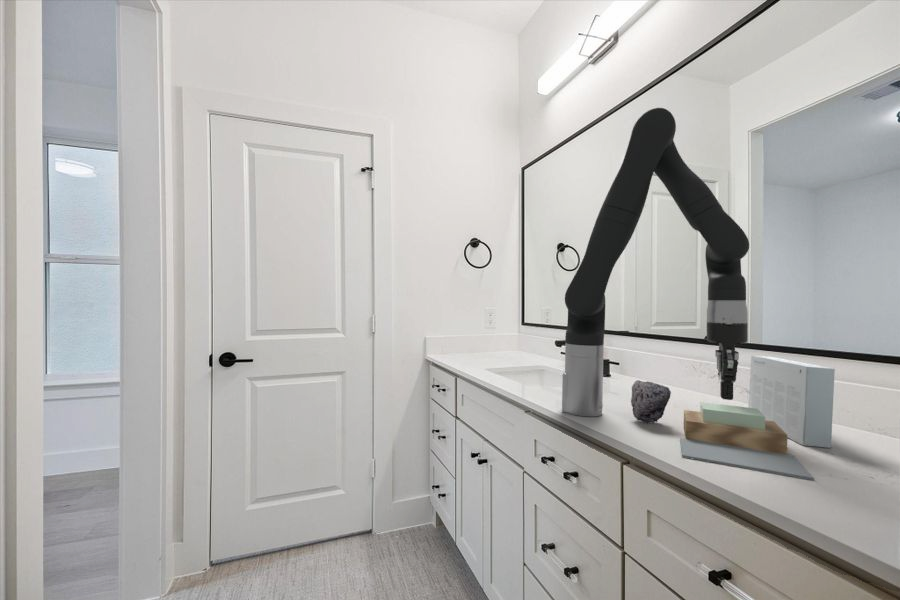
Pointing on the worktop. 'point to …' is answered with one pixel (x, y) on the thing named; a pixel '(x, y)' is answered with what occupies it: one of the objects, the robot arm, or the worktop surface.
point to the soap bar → (732, 415)
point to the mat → (744, 458)
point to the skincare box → (794, 398)
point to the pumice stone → (649, 401)
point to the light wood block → (735, 434)
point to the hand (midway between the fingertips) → (726, 398)
